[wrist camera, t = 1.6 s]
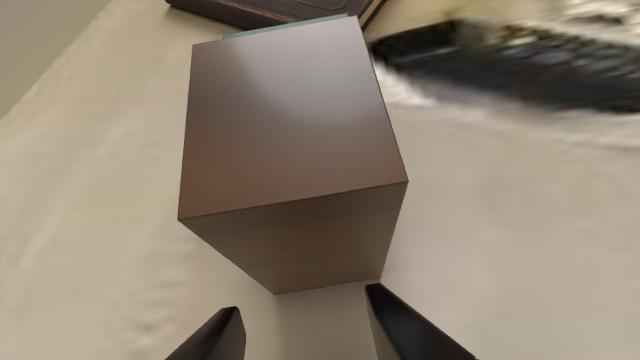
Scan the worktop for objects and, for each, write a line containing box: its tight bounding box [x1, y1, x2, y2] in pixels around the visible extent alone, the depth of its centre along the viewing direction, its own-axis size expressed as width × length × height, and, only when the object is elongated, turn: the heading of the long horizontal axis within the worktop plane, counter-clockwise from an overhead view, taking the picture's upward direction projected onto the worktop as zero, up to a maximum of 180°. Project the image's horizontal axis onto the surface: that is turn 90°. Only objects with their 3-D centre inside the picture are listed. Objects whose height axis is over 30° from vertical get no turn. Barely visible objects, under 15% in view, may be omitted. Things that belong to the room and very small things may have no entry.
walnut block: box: [177, 16, 409, 295], centre depth 17 cm, size 8×7×13 cm
